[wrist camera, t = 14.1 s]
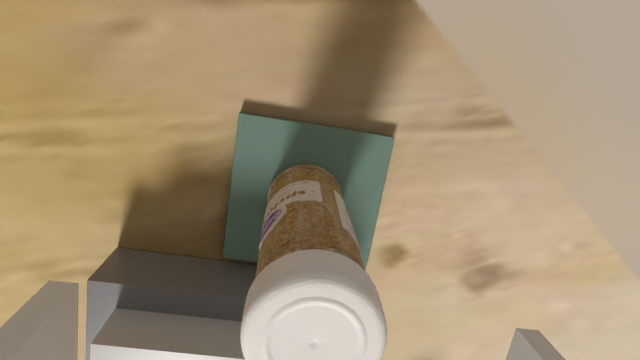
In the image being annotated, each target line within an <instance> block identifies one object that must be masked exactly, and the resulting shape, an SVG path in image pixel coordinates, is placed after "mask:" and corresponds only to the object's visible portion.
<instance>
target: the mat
mask: <svg viewBox="0 0 640 360" xmlns="http://www.w3.org/2000/svg"><path fill="white" fill-rule="evenodd" d="M393 141H394V137H393V136H389V135H383V134H377V133H370V132H364V131H358V130H351V129H345V128H339V127H332V126H326V125H320V124H313V123H307V122H301V121H294V120H288V119H282V118H275V117H269V116H263V115H256V114H250V113H244V112H240V113H239V117H238V126H237V135H236V143H235V152H234V161H233V169H232V178H231V187H230V195H229V204H228V213H227V221H226V230H225V239H224V247H223V256H222V258H229V259H237V260H245V261H253V262H258V260H259V244H260V239H261V233H262V228H263V222H264V216H265V212H266V208H267V195H268V191H269V188H270V185H271V184H272V182H273V180H274V179H275V178H276V177H277V176H278V175H279V174H281V173H282V172H283V171H284V170H286V169H288V168H290V167H292V166H296V165H302V164H304V165H306V164H310V165H316V166H319V167H322V168H324V169H325V170H326V171H328V172H329V173H330V174H331V175H333V176H334V178H335V180H336V181H337V183H338V184H339V186H340V188H341V191H342V197H343V201H344V203H345V205H346V208H347V211H348V214H349V217H350V220H351V223H352V226H353V229H354V231H355V235H356V238H357V241H358V244H359V247H360V251H361V258H362V262H363V265H364V269H366V265H367V260H368V256H369V251H370V246H371V242H372V237H373V233H374V228H375V223H376V219H377V214H378V210H379V205H380V200H381V196H382V191H383V187H384V182H385V177H386V173H387V168H388V164H389V159H390V154H391V150H392V145H393Z"/></svg>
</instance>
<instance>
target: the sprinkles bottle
mask: <svg viewBox="0 0 640 360" xmlns="http://www.w3.org/2000/svg"><path fill="white" fill-rule="evenodd" d="M386 339H387V326H386V320H385V316H384V312H383V308H382V305H381V301H380V298H379V295H378V292H377V289H376V287H375V285H374V283H373V281H372V280H371V278H370V276H369V275H368V274H367V273H366V271H365V269H364V265H363V262H362V258H361V251H360V247H359V244H358V241H357V238H356V235H355V231H354V229H353V226H352V223H351V220H350V217H349V214H348V211H347V208H346V205H345V203H344V201H343V197H342V191H341V188H340V186H339V184H338V183H337V181H336V180H335V178H334V176H333V175H331V174H330V173H329V172H328V171H326V170H325V169H324V168H322V167H319V166H316V165H310V164H306V165H304V164H302V165H296V166H292V167H290V168H288V169H286V170H284V171H283V172H282V173H281V174H279V175H278V176H277V177H276V178H275V179H274V180H273V182H272V184H271V185H270V188H269V191H268V195H267V208H266V212H265V216H264V222H263V228H262V233H261V239H260V244H259V260H258V264H257V271H256V277H255V280H254V281H253V283H252V285H251V287H250V289H249V291H248V294H247V297H246V302H245V307H244V311H243V317H242V323H241V333H240V342H241V348H242V353H243V356H244V358H245V360H381V357H382V355H383V352H384V349H385V345H386Z"/></svg>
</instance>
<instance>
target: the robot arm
mask: <svg viewBox="0 0 640 360" xmlns="http://www.w3.org/2000/svg"><path fill="white" fill-rule="evenodd" d="M77 346H78V283H70V282H60V281H50V280H49V281H48V282H47V283H46V284H45V285H44V286H43V287H42V288H41V289H40V290H39V291H38V292H37V293H36V294H35V295H34V296H33V297H32V298H31V299H30V300H29V301H28V302H26V303H25V304H24V305H23V306H22V307H21V308H20V309H19V310H18V311H17V312H16V313H15V314H14V315H13V316H12V317H11V318H10V319H9V320H8V321H7V322H6V323H5V324H4V325H3V326H2V327H1V328H0V360H77ZM506 360H565V359H564V358H563V357H562V356H561V354H560V353H559V352H558V351H557V350H556V349H555V348H554V347H553V346H552V345H551V343H550V342H549V341H548V340H547V339H546V338H545V337H544V336H543V335H542V334H541V333H540V331H539V330H530V329H520V328H516V330H515V333H514V336H513V339H512V342H511V345H510V348H509V351H508V354H507V357H506Z"/></svg>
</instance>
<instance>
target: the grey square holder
mask: <svg viewBox="0 0 640 360" xmlns="http://www.w3.org/2000/svg"><path fill="white" fill-rule="evenodd" d="M256 271H257V265H256V264H248V263H240V262H231V261H223V260H215V259H207V258H199V257H191V256H182V255H174V254H166V253H158V252H150V251H142V250H133V249H125V248H116V249H115V250H114V252H113V253H112V254H111V255H110V256H109V257H108V258H107V259H106V260H105V261H104V263H103V264H102V265H101V266H100V267H99V268H98V269H97V270H96V271H95V272H94V274H93V275H92V276H91V277H90V278H89V279H88V280H87V321H86V360H245V358H244V356H243V353H242V348H241V342H240V333H241V323H242V317H243V311H244V307H245V302H246V297H247V294H248V291H249V289H250V287H251V285H252V283H253V281H254V280H255V277H256Z"/></svg>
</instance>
